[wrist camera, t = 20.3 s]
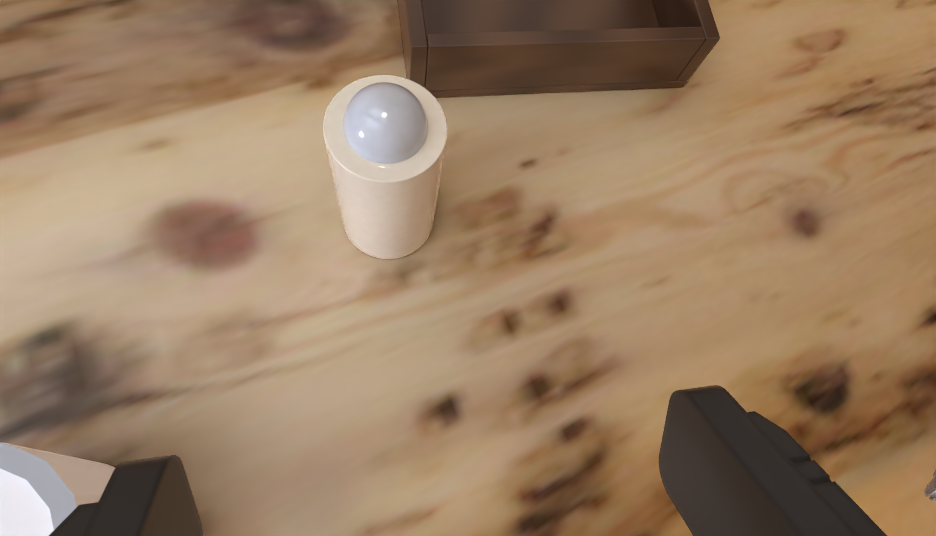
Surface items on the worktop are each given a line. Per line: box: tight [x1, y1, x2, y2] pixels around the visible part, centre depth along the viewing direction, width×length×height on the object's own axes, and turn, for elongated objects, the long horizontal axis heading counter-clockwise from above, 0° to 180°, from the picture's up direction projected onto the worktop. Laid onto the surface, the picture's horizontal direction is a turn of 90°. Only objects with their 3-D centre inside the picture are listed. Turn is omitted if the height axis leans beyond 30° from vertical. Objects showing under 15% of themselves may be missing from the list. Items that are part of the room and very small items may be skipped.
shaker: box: [323, 75, 448, 259], centre depth 23 cm, size 4×4×10 cm
